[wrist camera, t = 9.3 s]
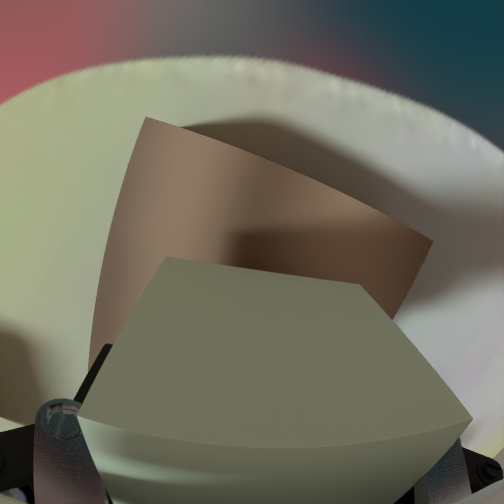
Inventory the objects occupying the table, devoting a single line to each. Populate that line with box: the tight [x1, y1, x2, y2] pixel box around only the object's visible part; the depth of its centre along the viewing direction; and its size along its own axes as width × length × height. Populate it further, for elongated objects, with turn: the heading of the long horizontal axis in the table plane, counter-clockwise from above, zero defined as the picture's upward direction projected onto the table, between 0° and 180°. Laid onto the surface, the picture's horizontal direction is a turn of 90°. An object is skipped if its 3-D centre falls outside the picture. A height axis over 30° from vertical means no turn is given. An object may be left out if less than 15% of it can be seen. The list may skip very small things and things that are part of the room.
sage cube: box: [77, 256, 473, 504], centre depth 7 cm, size 6×6×6 cm
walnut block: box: [88, 117, 433, 372], centre depth 14 cm, size 12×12×5 cm
